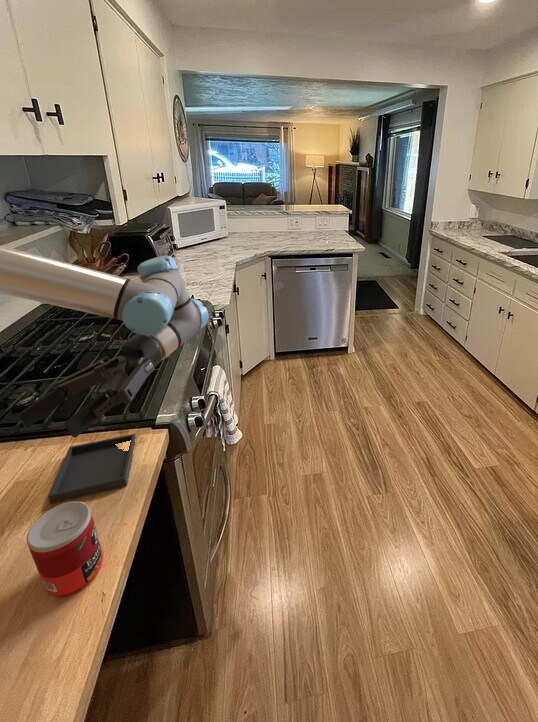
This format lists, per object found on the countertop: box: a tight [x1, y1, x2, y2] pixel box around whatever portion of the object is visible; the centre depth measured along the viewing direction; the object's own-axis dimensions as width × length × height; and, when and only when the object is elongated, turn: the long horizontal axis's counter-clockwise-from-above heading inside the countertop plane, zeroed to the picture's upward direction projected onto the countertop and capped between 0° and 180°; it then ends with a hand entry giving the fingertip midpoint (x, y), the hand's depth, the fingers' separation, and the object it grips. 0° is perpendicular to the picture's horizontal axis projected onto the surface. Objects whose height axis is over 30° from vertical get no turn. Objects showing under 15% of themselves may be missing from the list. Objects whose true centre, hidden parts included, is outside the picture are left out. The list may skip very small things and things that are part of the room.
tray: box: [47, 433, 137, 505], centre depth 76 cm, size 13×13×2 cm
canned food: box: [26, 500, 104, 598], centre depth 56 cm, size 8×8×11 cm
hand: (44, 426), depth 56 cm, fingers open, 13 cm apart
